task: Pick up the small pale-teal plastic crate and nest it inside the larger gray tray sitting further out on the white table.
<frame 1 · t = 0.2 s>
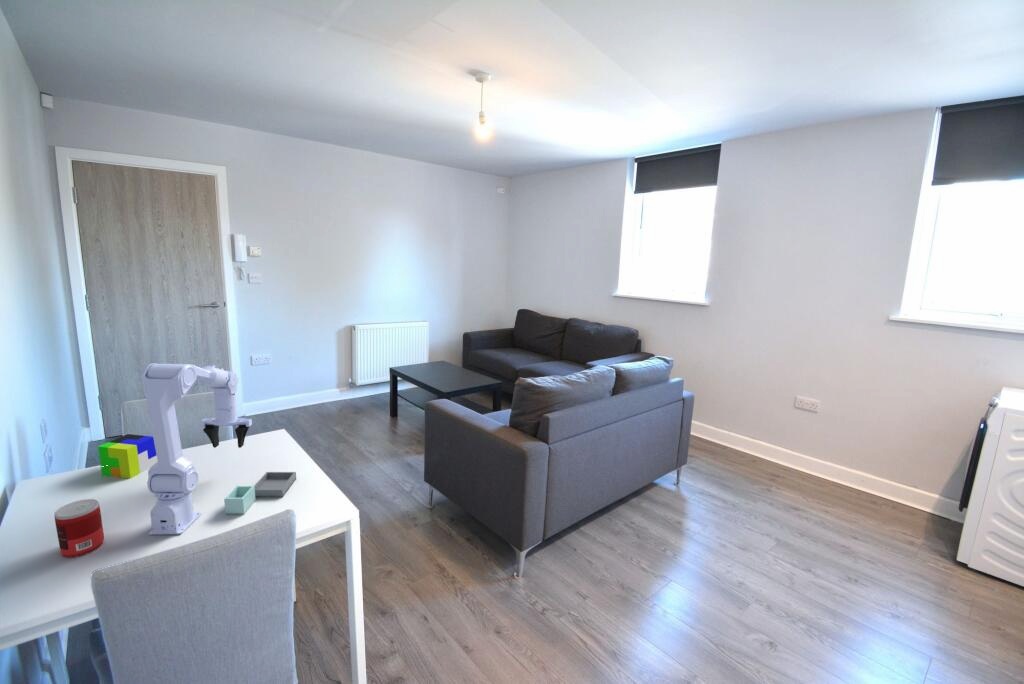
hand: (228, 446, 146), 10 cm above the table, fingers open, 7 cm apart
canned food: (83, 548, 111), on the table
small crate: (240, 507, 130), on the table
puzzle toy: (131, 470, 148), on the table
gray tray: (274, 487, 142), on the table
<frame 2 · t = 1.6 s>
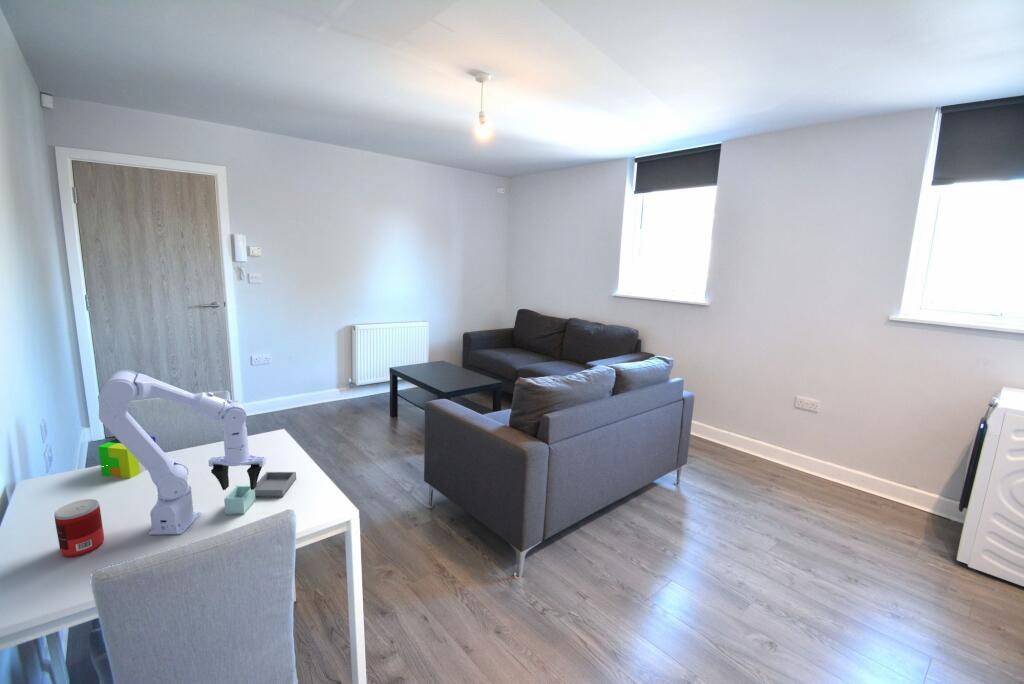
hand: (239, 488, 129), 6 cm above the table, fingers open, 7 cm apart
nothing on the table moved.
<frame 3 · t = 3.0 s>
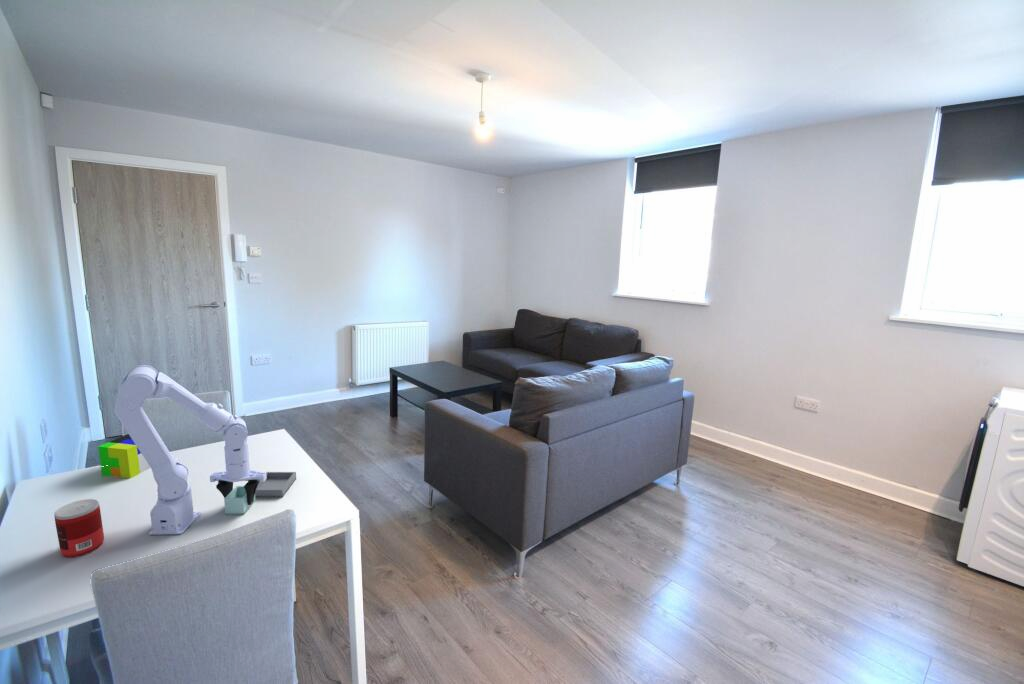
hand: (240, 503, 130), 1 cm above the table, fingers closed on small crate, 5 cm apart
small crate: (240, 507, 130), on the table, touching gripper
everything else where it was.
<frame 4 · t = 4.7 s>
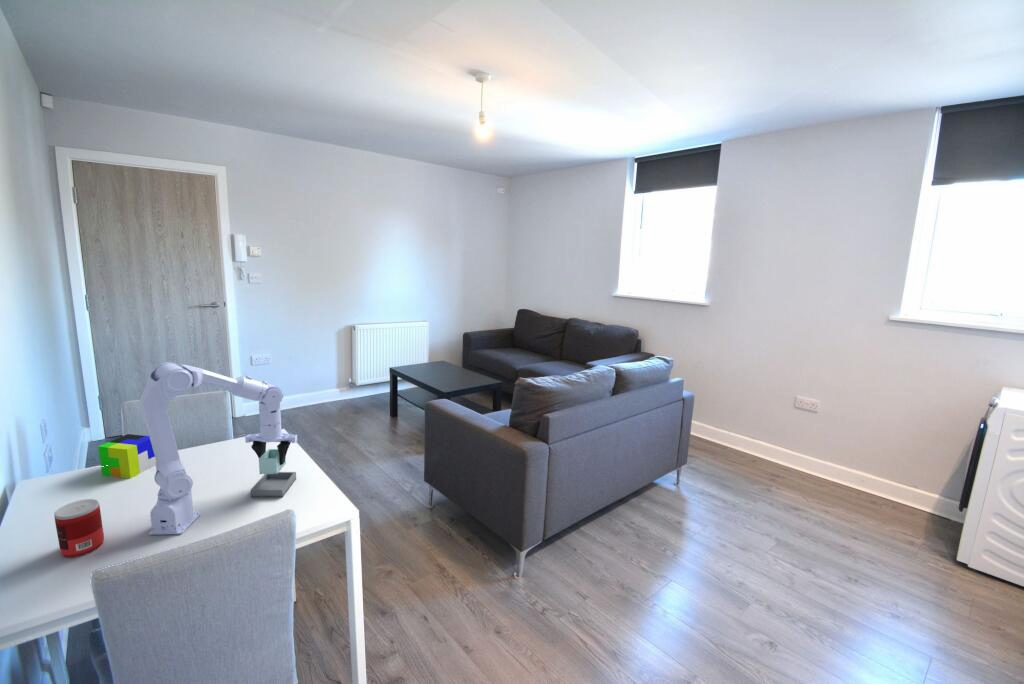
hand: (273, 463, 140), 8 cm above the table, fingers closed on small crate, 5 cm apart
small crate: (273, 468, 140), point 7 cm above the table, touching gripper
everything else where it was.
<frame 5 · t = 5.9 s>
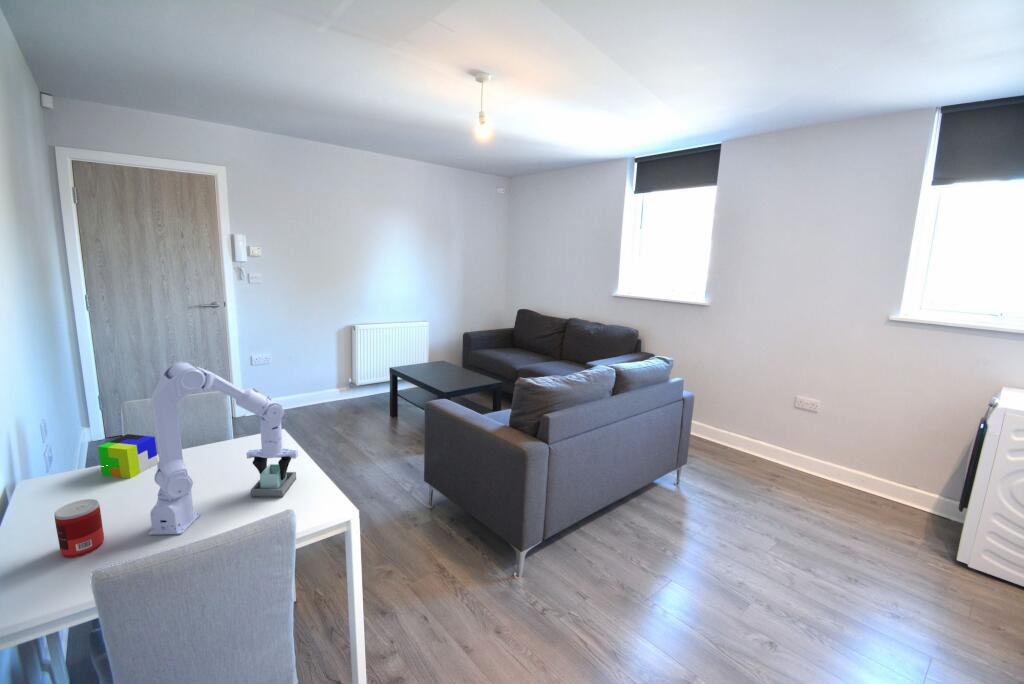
hand: (274, 478, 141), 3 cm above the table, fingers closed on small crate, 5 cm apart
small crate: (274, 483, 141), point 2 cm above the table, touching gripper
everything else where it was.
when the fingers open (3 cm above the table, at t = 6.6 s): small crate stays where it is, resting on gray tray.
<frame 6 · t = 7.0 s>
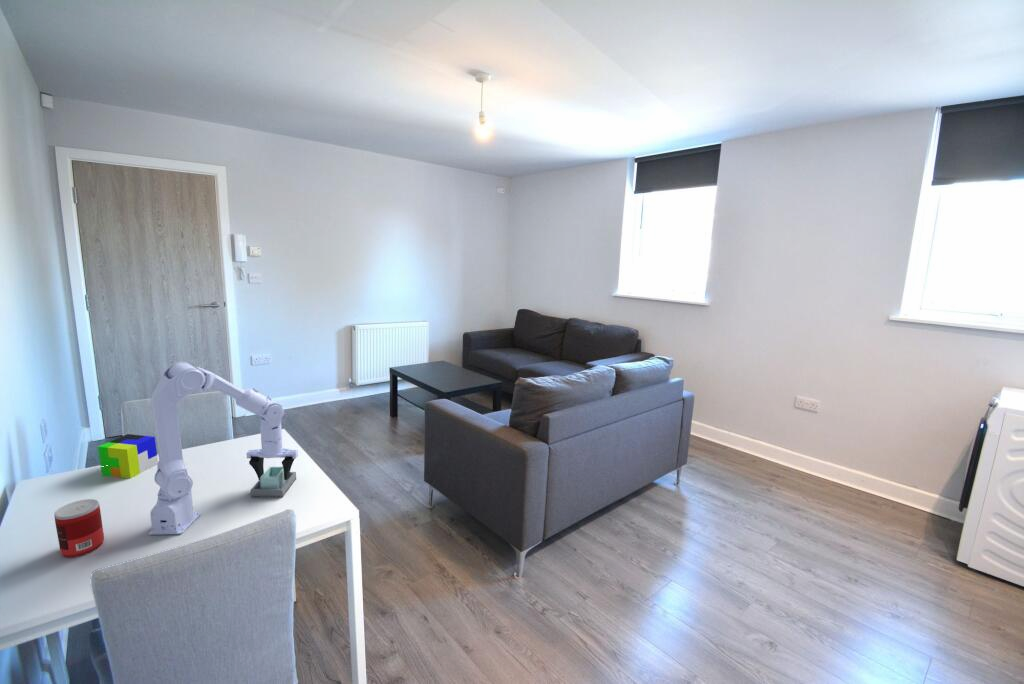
hand: (274, 478, 141), 3 cm above the table, fingers open, 7 cm apart
small crate: (274, 486, 141), point 1 cm above the table, touching gray tray
everything else where it was.
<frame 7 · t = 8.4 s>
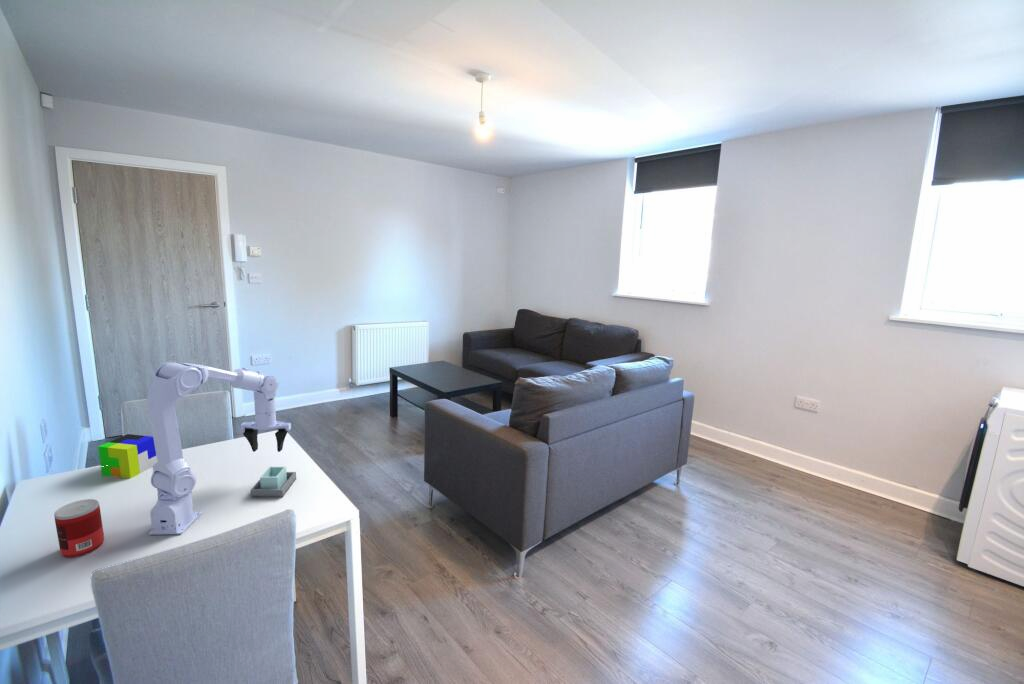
hand: (267, 450, 145), 10 cm above the table, fingers open, 7 cm apart
nothing on the table moved.
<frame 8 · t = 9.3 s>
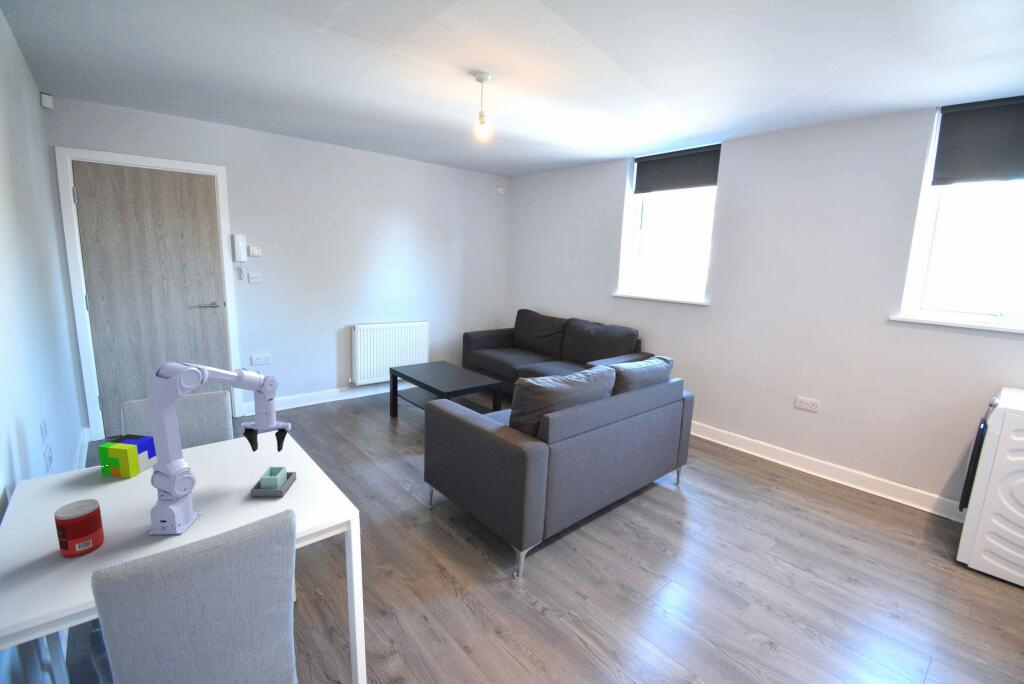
hand: (267, 450, 145), 10 cm above the table, fingers open, 7 cm apart
nothing on the table moved.
at the end: small crate 0.2 cm off-centre on the gray tray, point 0.6 cm above the gray tray's base; small crate tilted 0°; the gripper is holding nothing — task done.
